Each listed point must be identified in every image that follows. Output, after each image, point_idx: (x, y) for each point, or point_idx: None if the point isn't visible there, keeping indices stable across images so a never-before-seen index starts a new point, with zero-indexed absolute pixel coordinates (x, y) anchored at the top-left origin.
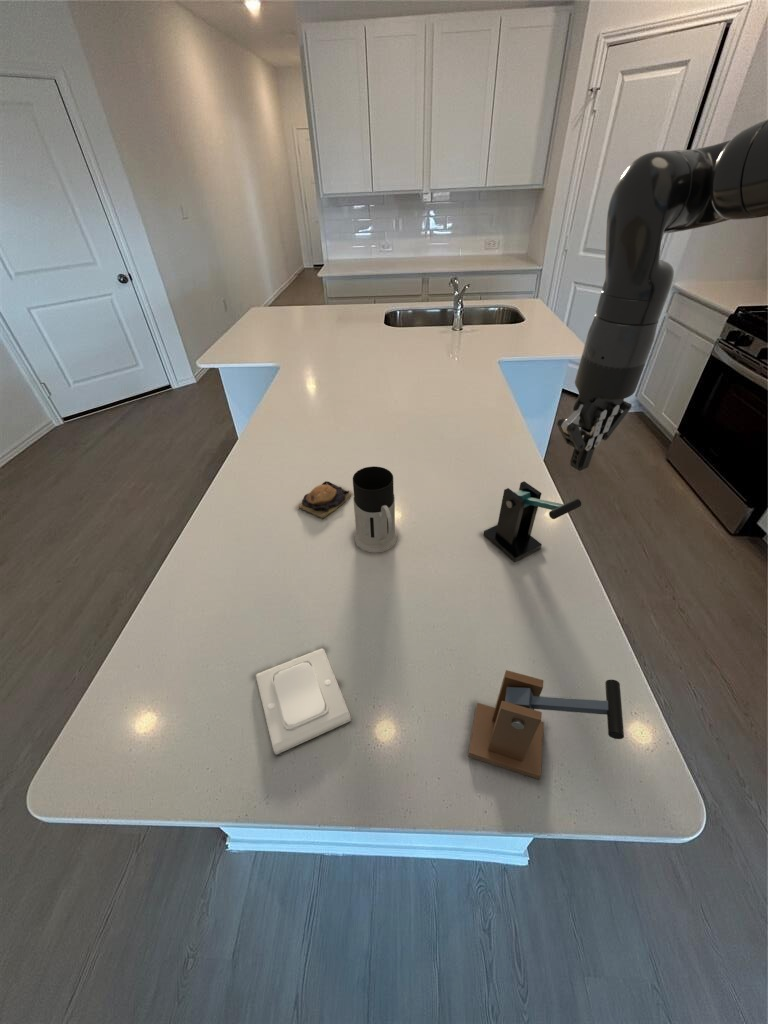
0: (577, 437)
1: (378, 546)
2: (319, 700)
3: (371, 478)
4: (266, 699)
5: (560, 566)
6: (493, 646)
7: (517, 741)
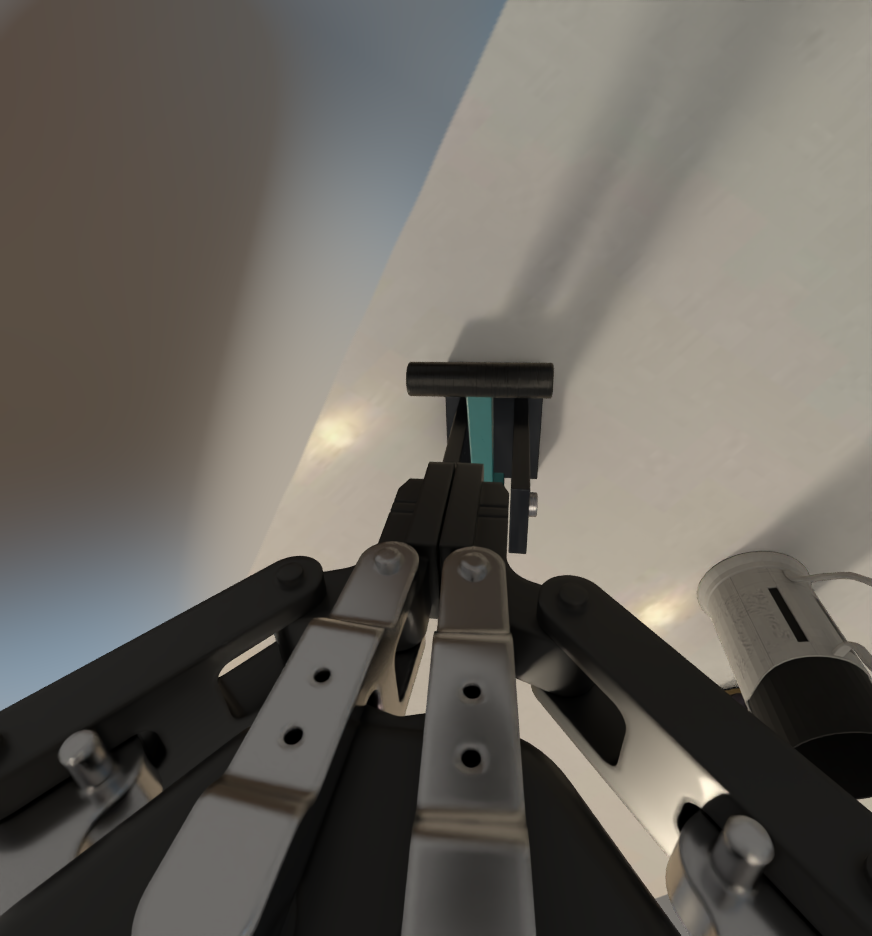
0: (718, 723)
1: (791, 569)
2: None
3: None
4: None
5: (449, 286)
6: (851, 157)
7: None
